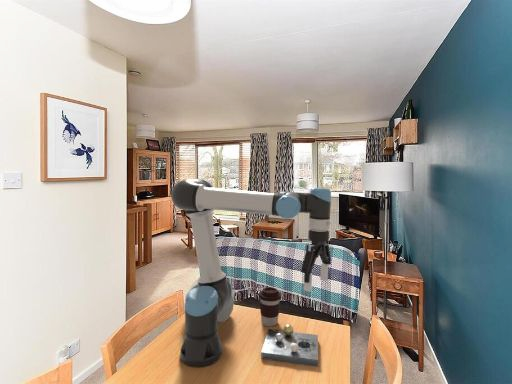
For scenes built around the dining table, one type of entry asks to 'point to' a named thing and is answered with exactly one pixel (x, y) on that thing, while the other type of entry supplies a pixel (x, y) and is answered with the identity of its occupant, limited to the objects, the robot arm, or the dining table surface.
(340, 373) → the dining table surface
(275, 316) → the coffee cup
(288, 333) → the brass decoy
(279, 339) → the steel ball
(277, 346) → the plate
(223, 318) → the blue grey rounded piece
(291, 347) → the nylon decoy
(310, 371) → the dining table surface
